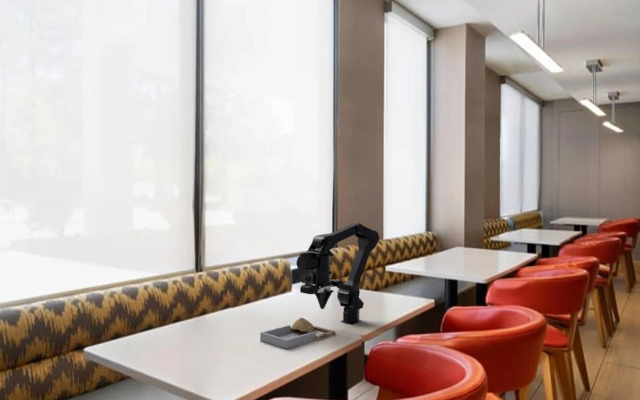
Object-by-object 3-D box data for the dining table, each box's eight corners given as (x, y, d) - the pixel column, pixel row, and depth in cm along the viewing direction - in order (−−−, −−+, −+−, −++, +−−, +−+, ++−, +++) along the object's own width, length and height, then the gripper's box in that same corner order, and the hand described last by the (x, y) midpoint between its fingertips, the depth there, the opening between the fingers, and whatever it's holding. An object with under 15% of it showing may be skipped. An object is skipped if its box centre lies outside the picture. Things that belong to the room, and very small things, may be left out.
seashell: (304, 332, 180) (292, 316, 185) (298, 342, 183) (287, 327, 187) (320, 327, 186) (308, 312, 190) (315, 337, 188) (303, 322, 193)
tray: (289, 332, 186) (289, 325, 186) (315, 340, 176) (315, 332, 176) (260, 340, 176) (260, 332, 176) (286, 349, 166) (286, 340, 166)
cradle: (304, 327, 194) (304, 323, 194) (335, 335, 182) (335, 331, 182) (286, 332, 187) (286, 328, 187) (317, 341, 176) (317, 336, 176)
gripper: (323, 263, 201) (323, 301, 201) (290, 269, 188) (290, 309, 188) (344, 266, 194) (344, 306, 194) (310, 272, 180) (310, 314, 180)
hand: (322, 308), depth 189 cm, fingers closed
